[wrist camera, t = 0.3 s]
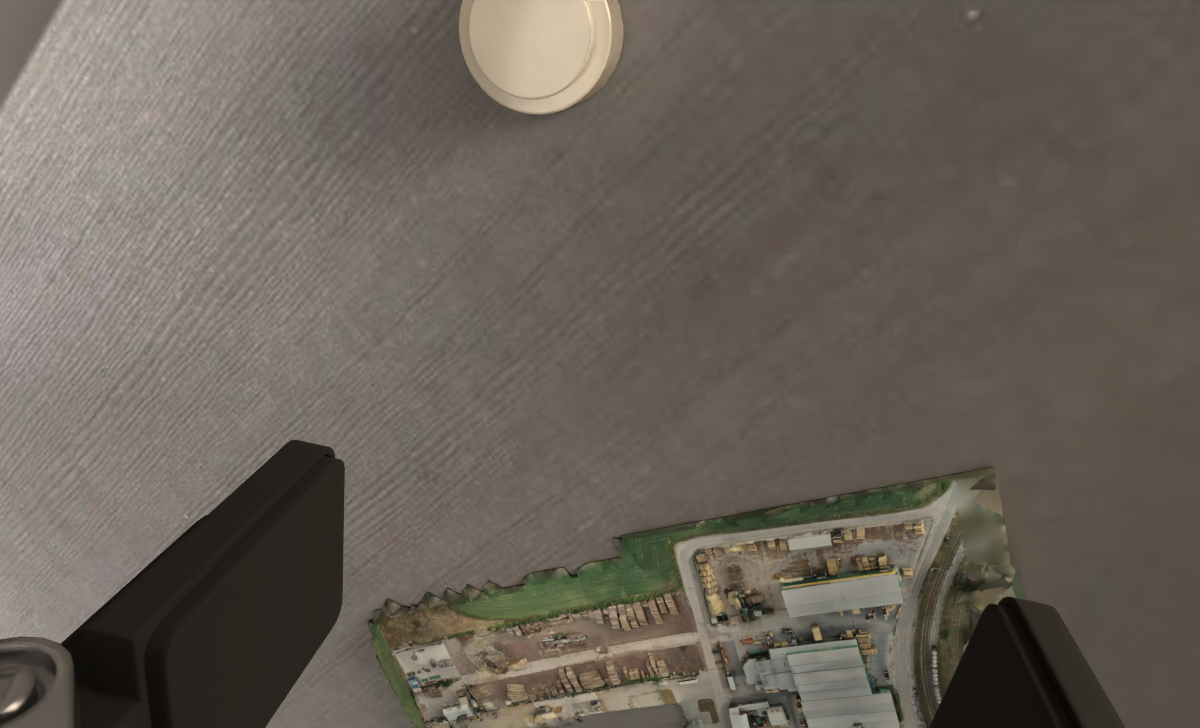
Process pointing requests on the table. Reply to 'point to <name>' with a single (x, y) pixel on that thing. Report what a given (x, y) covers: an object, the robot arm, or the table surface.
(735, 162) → the table surface
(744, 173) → the table surface
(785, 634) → the model
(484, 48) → the tan tin with lid
